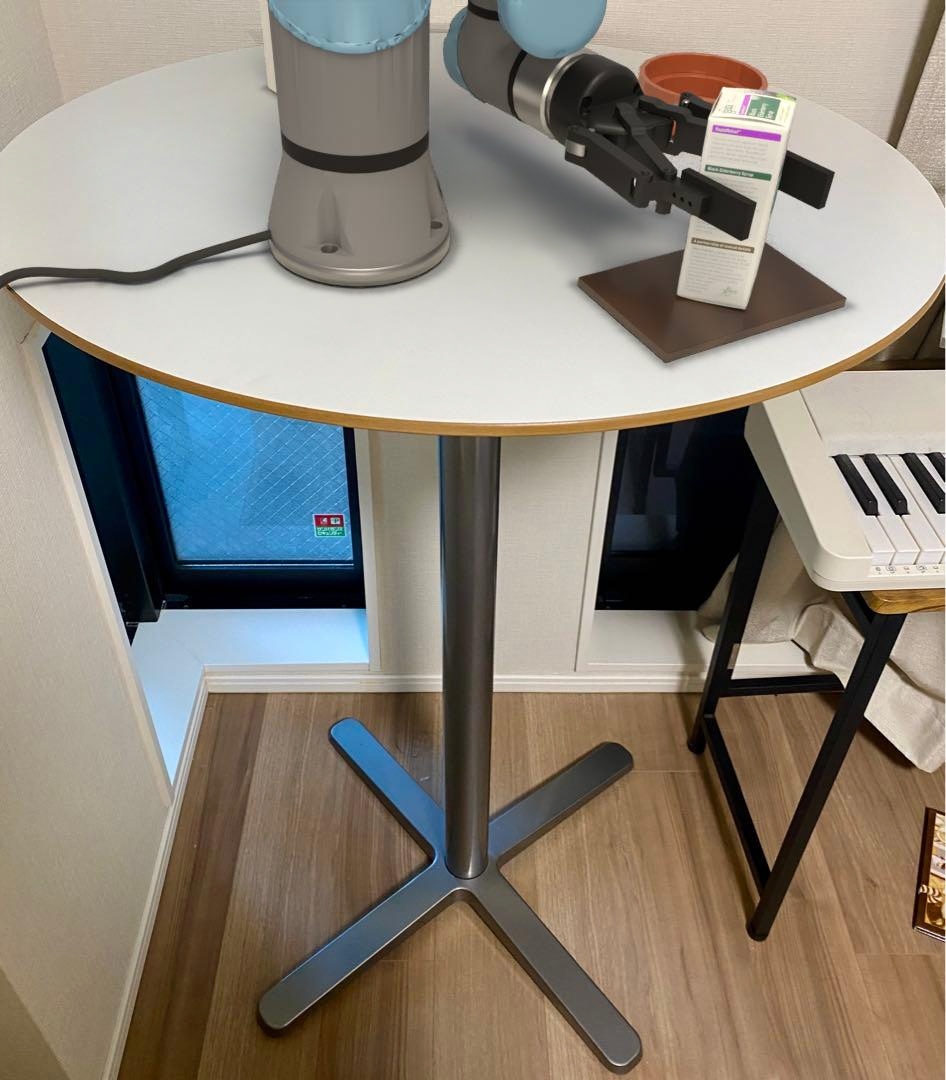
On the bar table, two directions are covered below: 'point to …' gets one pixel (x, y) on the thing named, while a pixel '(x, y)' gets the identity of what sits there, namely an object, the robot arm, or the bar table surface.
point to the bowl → (696, 76)
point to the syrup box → (750, 169)
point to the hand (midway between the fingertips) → (788, 206)
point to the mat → (705, 303)
